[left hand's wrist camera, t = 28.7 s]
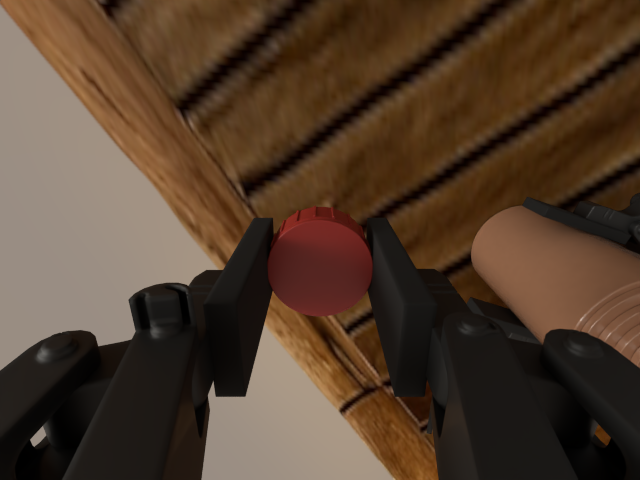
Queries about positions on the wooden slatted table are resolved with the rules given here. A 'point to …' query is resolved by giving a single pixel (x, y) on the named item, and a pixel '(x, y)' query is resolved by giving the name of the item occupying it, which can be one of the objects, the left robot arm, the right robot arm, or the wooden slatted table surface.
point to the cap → (320, 262)
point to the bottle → (561, 278)
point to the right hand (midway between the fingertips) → (503, 261)
